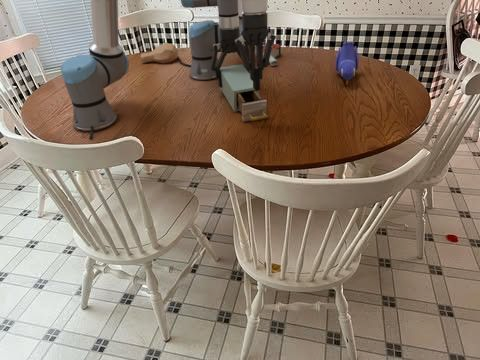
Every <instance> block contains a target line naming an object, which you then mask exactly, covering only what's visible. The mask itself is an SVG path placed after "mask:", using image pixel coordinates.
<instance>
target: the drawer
mask: <svg viewBox="0 0 480 360" xmlns="http://www.w3.org/2000/svg"><path fill="white" fill-rule="evenodd" d="M236 99H237V107H238V109H239V110H240V111H239V112H240V114H241V120H242V122H244V123H245V122H249V121H251V122H254V121H255V122H256V121H260V120H265V119H268V118H269V116H268V114H267V109H268V108H267V105H268V100H267V99H262V97H261V95H260V94H259V95H258V93H257V92H256V91H255V90H252V91H247V92H241V93H236Z"/></svg>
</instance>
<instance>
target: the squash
mask: <svg viewBox="0 0 480 360" xmlns="http://www.w3.org/2000/svg"><path fill="white" fill-rule="evenodd" d="M155 47H156V48H154V49H153V50H151V51H150V52H144V53H141V54H140V61H141V62H142V64H146V63H149V62H157V63H160V64H170V63H172V62H173V61H175V60H176V59H177V58H178V57H179V56H178V55H179V51H178V49H177V47H176V45H175V44H173V43H168V42H164V43H162V44H160V45H158V46H155Z"/></svg>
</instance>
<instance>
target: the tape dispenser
mask: <svg viewBox="0 0 480 360" xmlns="http://www.w3.org/2000/svg"><path fill="white" fill-rule="evenodd" d="M265 46H266V44H265V45H263V56H264V51H265ZM281 54H282V46H281V44H279V43H273V45H272V50H271V54H270V59H269V65H270V66H271V67H274V66H277V65H278V63H279V61H278V59H276V57H280V56H281ZM255 56H257V53H256V46H255Z"/></svg>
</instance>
